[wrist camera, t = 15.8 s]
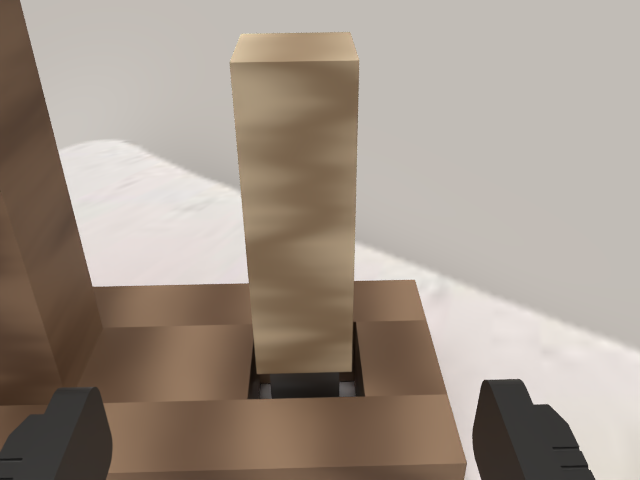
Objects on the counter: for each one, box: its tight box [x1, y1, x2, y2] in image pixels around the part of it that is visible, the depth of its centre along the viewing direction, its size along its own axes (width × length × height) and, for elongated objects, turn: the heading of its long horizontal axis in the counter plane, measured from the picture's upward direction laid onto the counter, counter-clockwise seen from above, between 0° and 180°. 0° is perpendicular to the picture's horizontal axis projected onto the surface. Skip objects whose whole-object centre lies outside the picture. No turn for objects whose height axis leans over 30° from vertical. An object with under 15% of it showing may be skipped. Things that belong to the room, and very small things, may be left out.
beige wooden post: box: [230, 32, 359, 399], centre depth 25 cm, size 4×4×18 cm
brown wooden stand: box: [0, 0, 467, 480], centre depth 24 cm, size 22×12×22 cm, turn 91°
